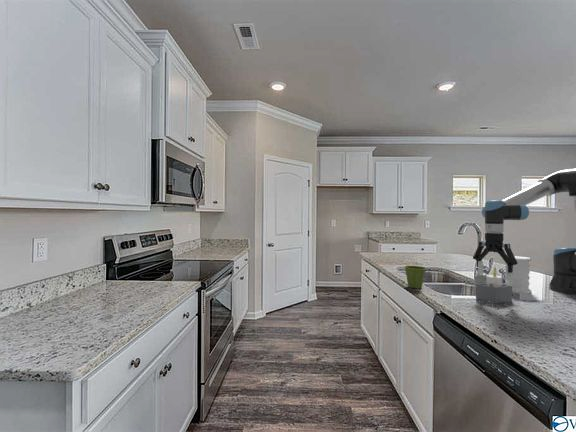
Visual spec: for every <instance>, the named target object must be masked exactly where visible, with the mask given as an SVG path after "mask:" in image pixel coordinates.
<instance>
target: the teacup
mask: <svg viewBox="0 0 576 432" xmlns="http://www.w3.org/2000/svg"><path fill="white" fill-rule="evenodd" d="M487 275H488V274H487ZM487 275H486V274H480V275H479V274H476V275H474V277H473V278H474V286H475V287H476V284H478V283H486V280H487ZM504 281H505V280H504V278H503V277H502V284H504Z"/></svg>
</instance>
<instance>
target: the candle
mask: <svg viewBox="0 0 576 432" xmlns="http://www.w3.org/2000/svg"><path fill="white" fill-rule="evenodd" d="M492 273H493V274H487V280H486V286H491V287H495V288H496V287H502V284H503V283H502V278H503V277H502V276H500V275H497V267H496V266H495V267H494V268H493V272H492Z"/></svg>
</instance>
